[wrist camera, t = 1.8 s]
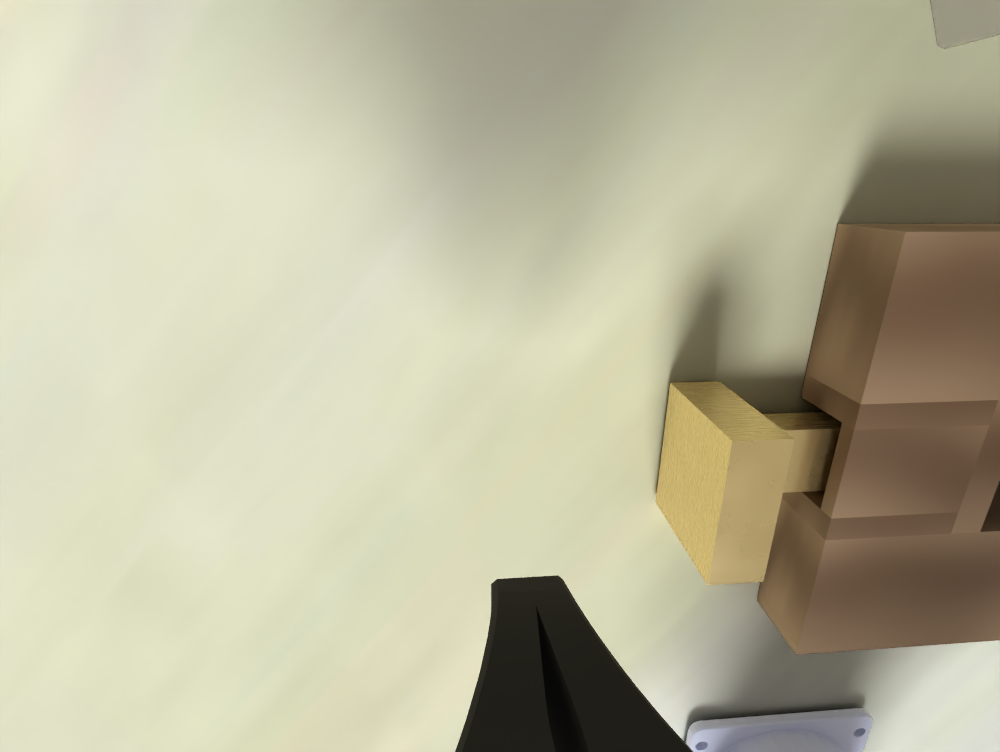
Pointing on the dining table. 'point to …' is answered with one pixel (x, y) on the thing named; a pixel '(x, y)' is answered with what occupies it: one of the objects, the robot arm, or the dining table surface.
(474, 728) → the robot arm
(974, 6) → the lighter
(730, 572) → the light wooden block
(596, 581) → the dining table surface
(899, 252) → the socket block
